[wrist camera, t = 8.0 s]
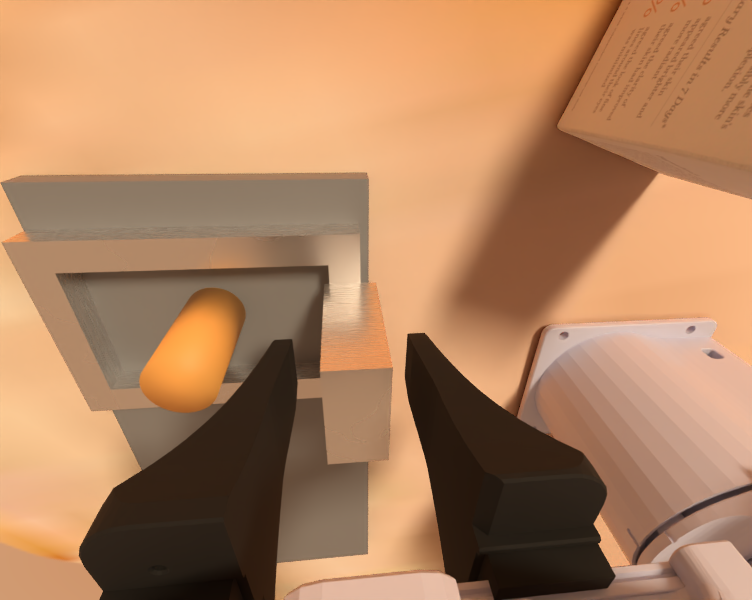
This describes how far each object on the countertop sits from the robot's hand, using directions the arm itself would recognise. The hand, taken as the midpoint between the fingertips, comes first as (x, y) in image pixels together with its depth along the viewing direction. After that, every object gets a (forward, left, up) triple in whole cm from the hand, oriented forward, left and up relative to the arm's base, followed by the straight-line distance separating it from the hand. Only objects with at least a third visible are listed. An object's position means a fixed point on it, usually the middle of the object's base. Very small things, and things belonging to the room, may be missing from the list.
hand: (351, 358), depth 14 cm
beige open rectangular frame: (+6, 0, -3) cm, 7 cm away
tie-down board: (+5, +8, -4) cm, 11 cm away
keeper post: (+6, 0, -4) cm, 7 cm away
